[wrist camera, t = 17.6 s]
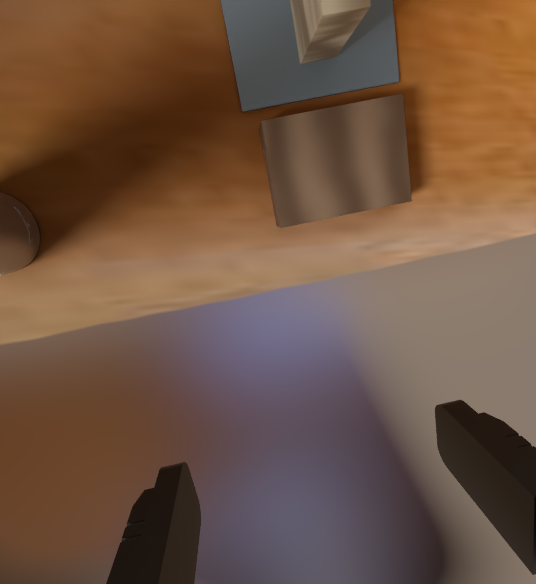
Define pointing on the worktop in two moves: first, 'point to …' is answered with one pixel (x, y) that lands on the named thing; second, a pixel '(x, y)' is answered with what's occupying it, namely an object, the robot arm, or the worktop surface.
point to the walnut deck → (337, 160)
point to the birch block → (325, 26)
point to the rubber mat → (285, 59)
